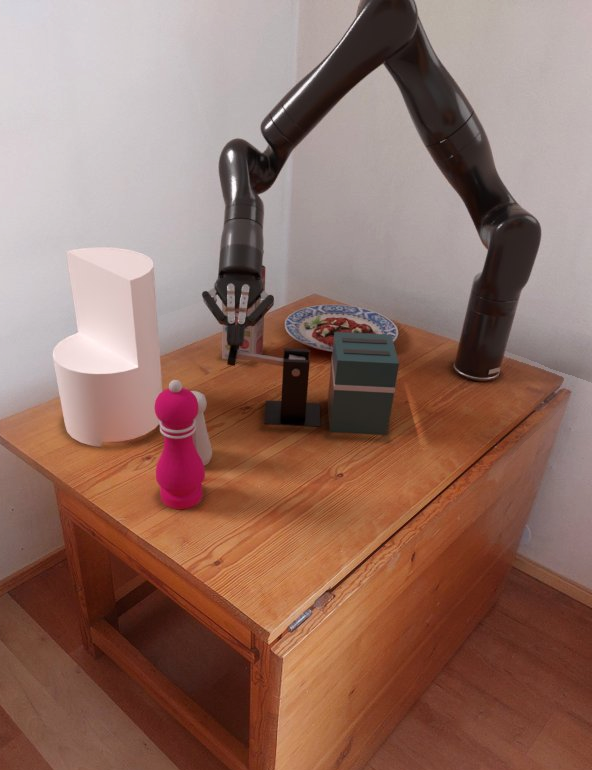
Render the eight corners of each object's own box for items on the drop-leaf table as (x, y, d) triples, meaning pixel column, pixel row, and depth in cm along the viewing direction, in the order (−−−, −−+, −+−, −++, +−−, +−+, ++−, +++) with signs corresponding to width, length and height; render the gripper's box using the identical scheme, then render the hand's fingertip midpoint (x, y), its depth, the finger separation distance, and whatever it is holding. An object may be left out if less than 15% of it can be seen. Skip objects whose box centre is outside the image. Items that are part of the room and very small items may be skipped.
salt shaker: (170, 469, 102) (165, 399, 95) (187, 450, 106) (183, 382, 99) (202, 479, 100) (200, 408, 93) (218, 459, 105) (217, 390, 97)
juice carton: (234, 346, 139) (234, 245, 127) (262, 352, 138) (266, 250, 125) (222, 359, 134) (221, 255, 121) (251, 365, 132) (253, 260, 120)
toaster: (328, 437, 111) (336, 360, 103) (325, 404, 121) (333, 330, 112) (387, 440, 111) (400, 363, 103) (380, 406, 121) (392, 333, 112)
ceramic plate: (418, 337, 147) (421, 325, 145) (349, 373, 131) (351, 360, 129) (332, 304, 161) (333, 293, 159) (261, 333, 145) (261, 321, 144)
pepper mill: (213, 488, 99) (210, 373, 87) (193, 516, 93) (188, 398, 82) (171, 477, 100) (163, 364, 89) (149, 504, 95) (137, 387, 83)
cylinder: (127, 385, 123) (111, 240, 107) (184, 421, 114) (176, 267, 98) (46, 418, 113) (15, 262, 97) (101, 459, 103) (77, 295, 87)
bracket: (264, 429, 113) (266, 364, 105) (266, 405, 119) (268, 343, 112) (320, 432, 113) (326, 367, 105) (319, 408, 119) (325, 346, 112)
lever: (226, 367, 107) (228, 354, 106) (229, 351, 112) (231, 339, 111) (302, 380, 108) (305, 368, 107) (302, 364, 113) (305, 352, 112)
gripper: (201, 240, 107) (193, 337, 104) (279, 244, 107) (273, 342, 104) (205, 260, 115) (198, 352, 112) (278, 264, 115) (273, 356, 112)
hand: (234, 347), depth 108 cm, fingers closed
